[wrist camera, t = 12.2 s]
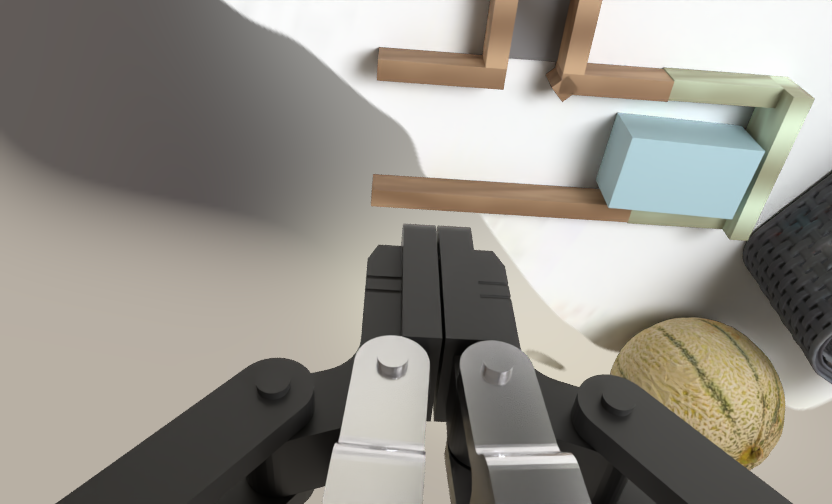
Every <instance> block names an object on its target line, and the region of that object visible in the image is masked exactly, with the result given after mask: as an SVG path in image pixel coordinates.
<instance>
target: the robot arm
mask: <svg viewBox="0 0 832 504" xmlns="http://www.w3.org/2000/svg"><path fill="white" fill-rule="evenodd" d="M432 408H433V411H434V421H438V422H446V425H447V442H446V448H445V453H444V455H445V465H446V472H447V479H448V486H449V494H450V501H451V504H792V503H791V502H790V501H789V500H787V499H786V498H785V497H783V496H782V495H781V494H779V493H778V492H777V491H776V490H774V489H773V488H772V487H770V486H769V485H768V484H766V483H765V482H764V481H762V480H761V479H760V478H758V477H757V476H756V475H755V474H753V473H752V472H751V471H749V470H748V469H747V468H745V467H744V466H743V465H742V464H740V463H739V462H738V461H736V460H735V459H734V458H732V457H731V456H730V455H728V454H727V453H726V452H725V451H723V450H722V449H721V448H719V447H718V446H717V445H715V444H714V443H713V442H711V441H710V440H709V439H708V438H706V437H705V436H704V435H702V434H701V433H700V432H698V431H697V430H696V429H694V428H693V427H692V426H691V425H689V424H688V423H687V422H685V421H684V420H683V419H681V418H680V417H679V416H677V415H676V414H675V413H674V412H672V411H671V410H670V409H668V408H667V407H666V406H664V405H663V404H662V403H660V402H659V401H658V400H657V399H655V398H654V397H653V396H651V395H650V394H649V393H647V392H646V391H645V390H643V389H642V388H641V387H639V386H638V385H636V384H635V383H633V382H631V381H629V380H627V379H625V378H622V377H619V376H615V375H596V376H593V377H590V378H588V379H587V380H585V381H584V382H583V383H582V384H581V386H580V387H577V386H573V385H570V384H567V383H564V382H560V381H557V380H554V379H552V378H549V377H547V376H545V375H543V374H542V373H540V372H538V371H537V370H536V369H534V367H533V365H532V362H531V361H530V359H529V357H528V356H527V355H526V354H525V353H524V352H522V351H521V348H520V343H519V338H518V334H517V328H516V322H515V317H514V312H513V307H512V302H511V299H510V291H509V287H508V281H507V276H506V270H505V266H504V265H503V264H502V262H501V261H500V260H499V259H498V257H497V256H496V255H495V253H494V252H493V251H481V250H474V248H473V241H472V234H471V228H469V227H453V226H438V227H437V231H436V226H434V225H417V224H403V230H402V242H401V246H391V245H378V246H377V248H376V249H375V250H374V251H373V253H372V254H371V255H370V257H369V258H368V262H367V276H366V286H365V299H364V311H363V323H362V336H361V343H360V346H359V349H358V350H357V352H356V353H355V354H354V355H353V357H352V358H351V359H349V360H348V361H347V362H345V363H343V364H342V365H340V366H337V367H335V368H332V369H329V370H324V371H320V372H315V373H310V372H309V370H308V369H307V368H306V367H304V366H303V365H302V364H300V363H298V362H296V361H294V360H290V359H285V358H269V359H264V360H261V361H258V362H256V363H253V364H252V365H250V366H248V367H247V368H245V369H244V370H242V371H241V372H240V373H238V374H237V375H235V376H234V377H233V378H231V379H230V380H228V381H227V382H226V383H224V384H223V385H221V386H220V387H218V388H217V389H216V390H214V391H213V392H212V393H210V394H209V395H207V396H206V397H205V398H203V399H202V400H200V401H199V402H198V403H196V404H195V405H193V406H192V407H190V408H189V409H188V410H186V411H185V412H183V413H182V414H181V415H179V416H178V417H177V418H175V419H174V420H172V421H171V422H169V423H168V424H167V425H165V426H164V427H163V428H161V429H160V430H158V431H157V432H155V433H154V434H153V435H151V436H150V437H148V438H147V439H146V440H144V441H143V442H141V443H140V444H139V445H137V446H136V447H134V448H133V449H132V450H130V451H129V452H127V453H126V454H125V455H123V456H122V457H120V458H119V459H118V460H116V461H115V462H113V463H112V464H111V465H110V466H108V467H106V468H105V469H104V470H102V471H101V472H99V473H98V474H97V475H95V476H94V477H92V478H91V479H90V480H88V481H87V482H85V483H84V484H83V485H81V486H80V487H79V488H77V489H76V490H74V491H73V492H71V493H70V494H69V495H67V496H66V497H64V498H63V499H62V500H60V501H59V502H57V503H56V504H304V503H305V502H306V501H307V500H308V499H309V497H310V496H311V494H312V493H313V491H314V489H316V488H320V487H323V486H325V490H324V495H323V500H322V504H423V489H424V473H425V451H424V447H425V431H426V421H431V415H432Z"/></svg>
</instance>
